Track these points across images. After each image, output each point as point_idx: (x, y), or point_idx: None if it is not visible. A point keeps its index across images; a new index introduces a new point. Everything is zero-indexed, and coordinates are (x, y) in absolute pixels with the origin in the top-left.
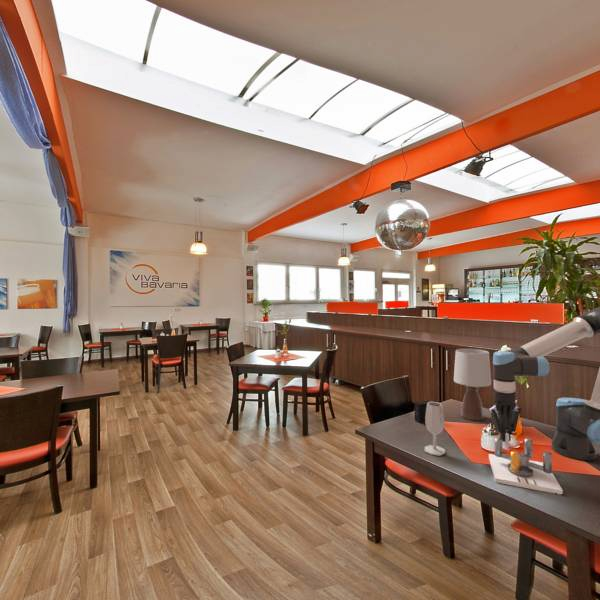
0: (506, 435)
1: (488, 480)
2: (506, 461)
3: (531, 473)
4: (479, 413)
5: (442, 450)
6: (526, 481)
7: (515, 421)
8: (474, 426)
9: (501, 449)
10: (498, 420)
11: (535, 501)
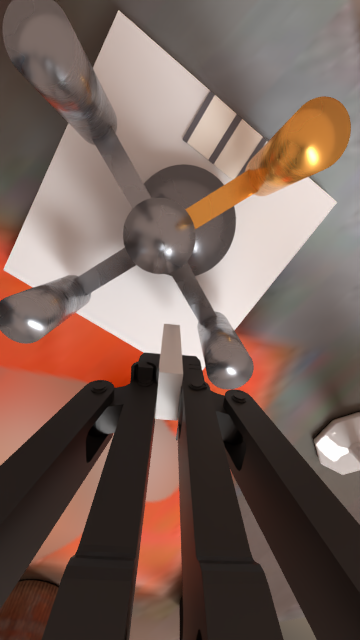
0: (180, 369)
1: (339, 224)
2: (170, 316)
3: (169, 167)
4: (11, 616)
5: (334, 436)
6: (230, 135)
7: (39, 463)
8: (74, 552)
9: (218, 324)
10: (307, 506)
11: (296, 9)
